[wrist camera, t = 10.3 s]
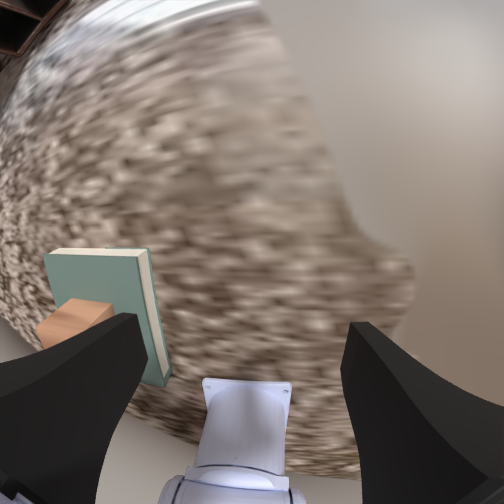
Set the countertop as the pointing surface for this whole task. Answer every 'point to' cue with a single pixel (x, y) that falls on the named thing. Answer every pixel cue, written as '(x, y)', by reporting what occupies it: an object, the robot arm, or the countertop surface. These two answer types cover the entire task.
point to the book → (114, 293)
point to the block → (72, 320)
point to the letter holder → (23, 22)
